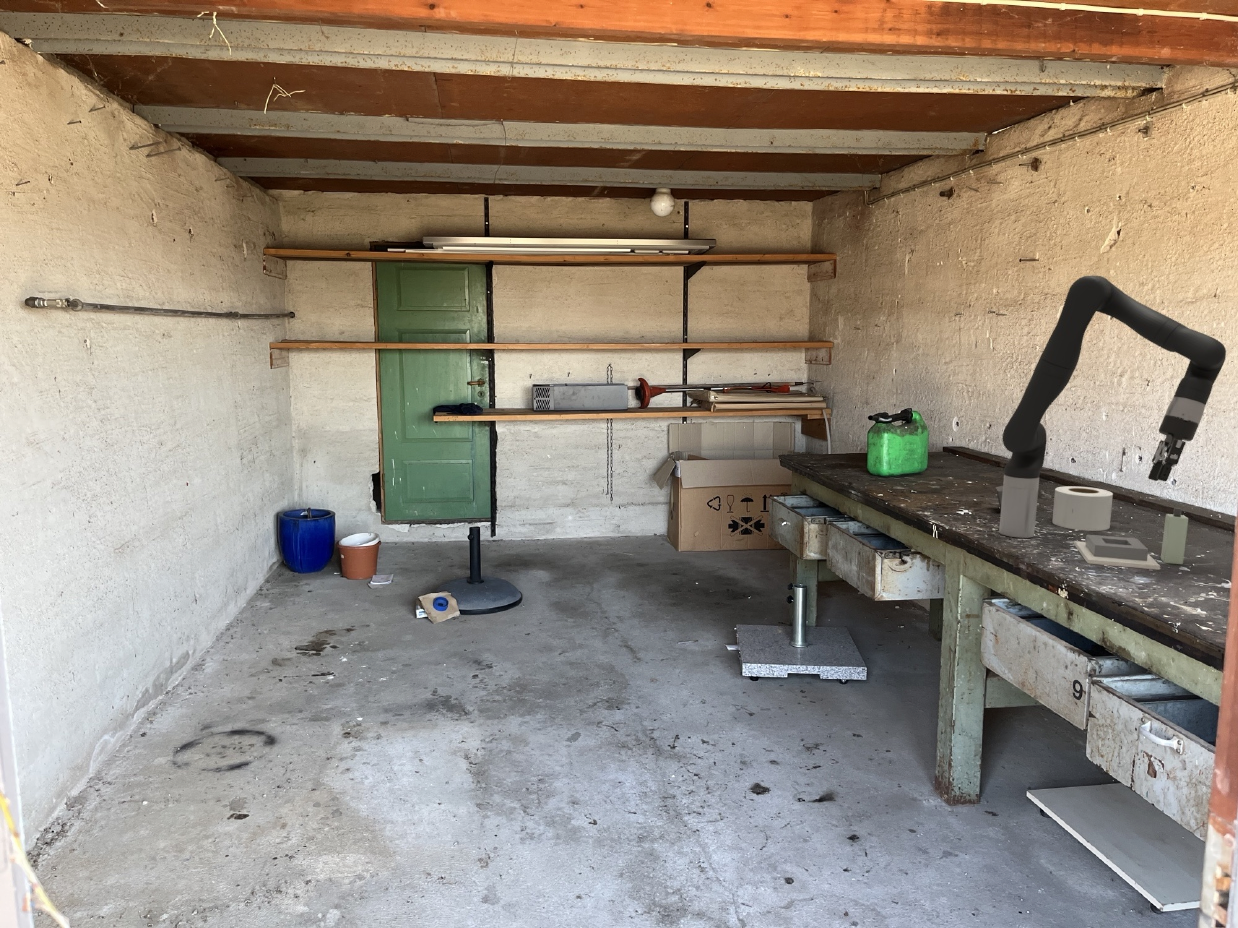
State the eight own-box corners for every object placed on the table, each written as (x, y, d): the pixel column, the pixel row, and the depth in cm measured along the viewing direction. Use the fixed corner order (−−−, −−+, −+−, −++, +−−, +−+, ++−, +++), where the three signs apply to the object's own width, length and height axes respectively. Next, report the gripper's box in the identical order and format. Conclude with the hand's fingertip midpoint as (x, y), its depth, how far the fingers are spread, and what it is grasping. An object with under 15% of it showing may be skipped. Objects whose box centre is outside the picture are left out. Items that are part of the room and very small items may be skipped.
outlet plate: (1074, 544, 238) (1075, 530, 237) (1140, 550, 233) (1141, 535, 232) (1087, 563, 219) (1089, 548, 219) (1159, 569, 214) (1161, 554, 214)
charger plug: (1160, 558, 225) (1166, 506, 222) (1178, 560, 223) (1184, 507, 221) (1164, 562, 221) (1171, 509, 218) (1182, 564, 220) (1189, 510, 217)
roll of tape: (1076, 532, 253) (1080, 496, 252) (1040, 520, 268) (1044, 486, 266) (1121, 530, 256) (1125, 494, 255) (1084, 518, 271) (1087, 485, 270)
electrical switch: (1016, 515, 274) (1015, 487, 273) (998, 516, 276) (998, 487, 274) (1012, 510, 283) (1012, 482, 282) (995, 510, 284) (995, 482, 283)
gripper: (1158, 415, 221) (1133, 475, 223) (1173, 412, 207) (1147, 475, 209) (1190, 425, 218) (1165, 485, 220) (1207, 422, 205) (1181, 485, 207)
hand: (1156, 480), depth 215 cm, fingers open, 8 cm apart
